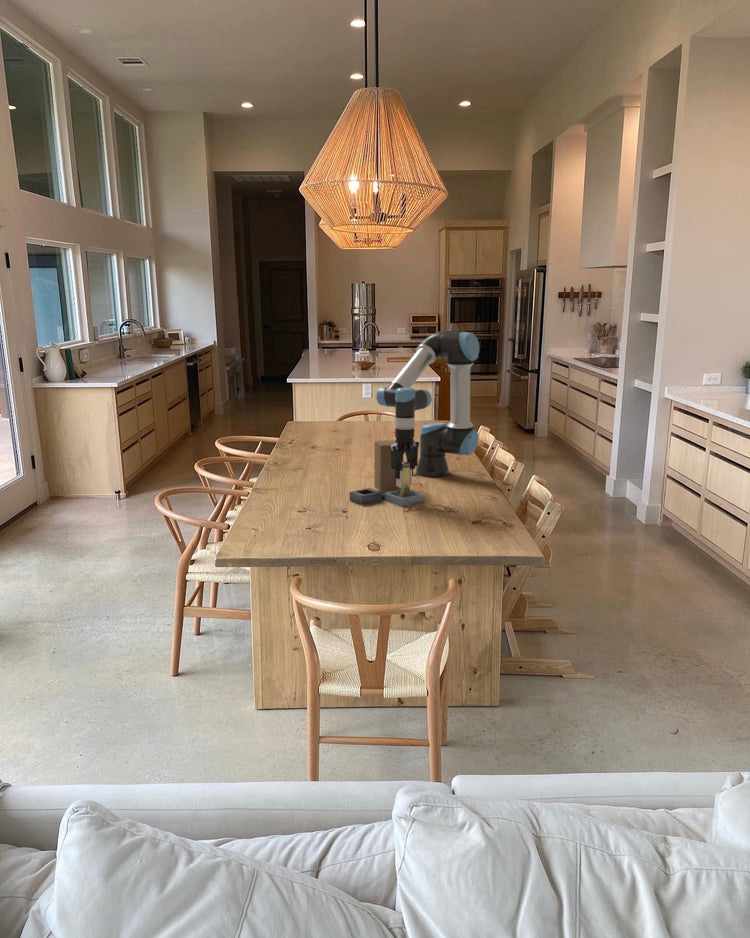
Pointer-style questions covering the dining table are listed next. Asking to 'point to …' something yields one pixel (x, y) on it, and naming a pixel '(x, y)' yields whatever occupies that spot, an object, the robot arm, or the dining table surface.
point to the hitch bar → (367, 496)
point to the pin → (405, 480)
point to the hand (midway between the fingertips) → (404, 485)
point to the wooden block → (384, 466)
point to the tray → (403, 498)
